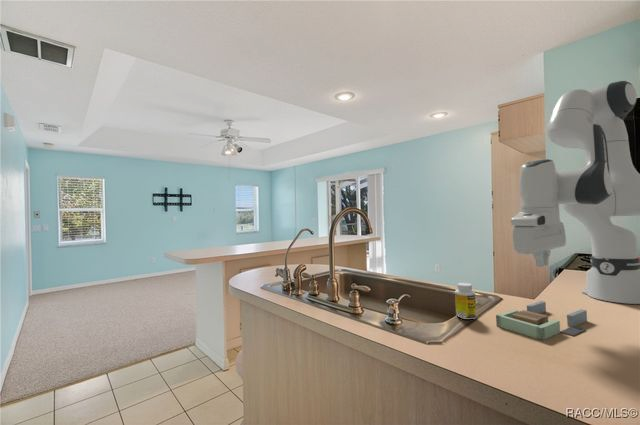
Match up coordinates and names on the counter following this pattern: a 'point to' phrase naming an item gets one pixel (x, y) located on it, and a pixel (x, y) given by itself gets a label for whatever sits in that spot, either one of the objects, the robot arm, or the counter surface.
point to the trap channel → (544, 329)
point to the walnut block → (530, 317)
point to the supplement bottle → (465, 301)
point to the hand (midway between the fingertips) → (542, 265)
